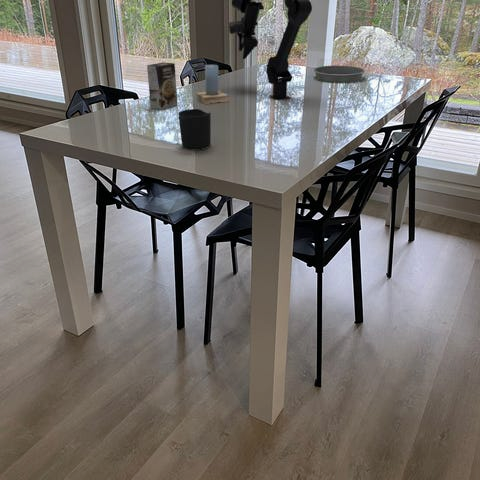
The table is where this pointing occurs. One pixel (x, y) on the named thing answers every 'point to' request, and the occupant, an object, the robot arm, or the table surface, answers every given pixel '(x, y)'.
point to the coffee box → (162, 85)
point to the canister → (211, 79)
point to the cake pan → (339, 74)
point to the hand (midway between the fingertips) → (241, 54)
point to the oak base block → (212, 98)
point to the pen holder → (195, 128)
